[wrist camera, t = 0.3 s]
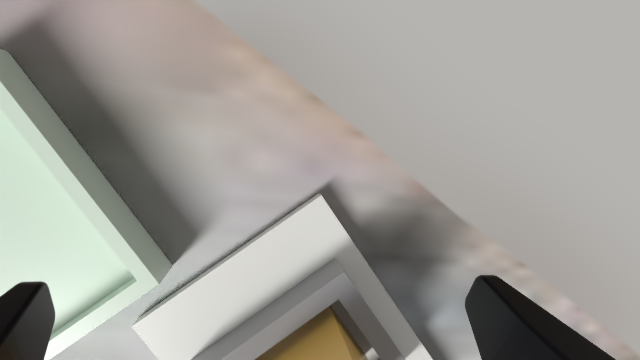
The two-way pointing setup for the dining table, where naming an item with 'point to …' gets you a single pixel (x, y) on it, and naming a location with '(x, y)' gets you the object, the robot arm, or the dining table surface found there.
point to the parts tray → (64, 218)
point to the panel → (280, 296)
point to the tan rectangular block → (318, 341)
